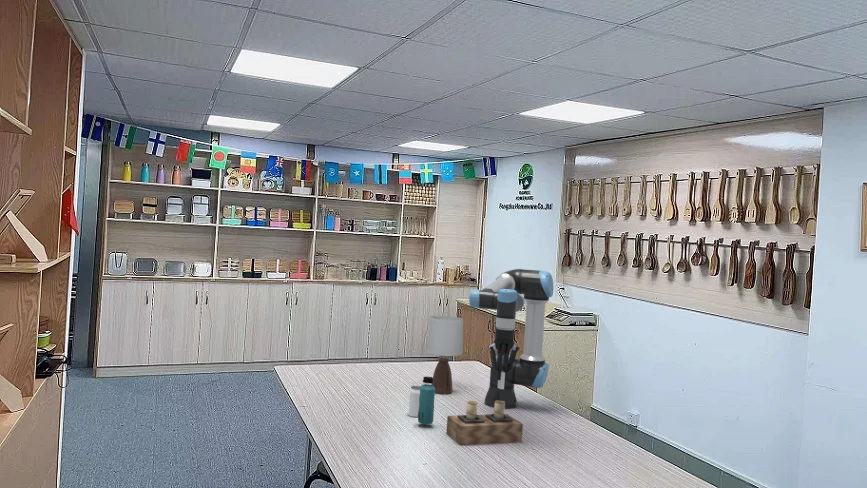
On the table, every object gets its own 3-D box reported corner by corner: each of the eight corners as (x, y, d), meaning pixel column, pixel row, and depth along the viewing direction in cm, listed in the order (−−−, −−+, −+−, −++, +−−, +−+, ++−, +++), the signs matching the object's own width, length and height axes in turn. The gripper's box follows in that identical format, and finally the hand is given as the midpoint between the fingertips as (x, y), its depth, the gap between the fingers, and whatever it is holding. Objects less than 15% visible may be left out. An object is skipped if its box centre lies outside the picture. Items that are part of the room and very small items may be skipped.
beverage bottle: (435, 425, 269) (438, 376, 269) (429, 429, 263) (433, 379, 262) (420, 422, 271) (423, 374, 271) (414, 426, 265) (418, 377, 265)
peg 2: (500, 419, 261) (502, 400, 261) (505, 422, 257) (506, 402, 257) (491, 420, 260) (493, 400, 259) (496, 423, 256) (497, 403, 256)
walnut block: (505, 430, 267) (506, 411, 267) (521, 441, 254) (523, 421, 254) (446, 433, 258) (447, 413, 258) (460, 445, 245) (461, 423, 245)
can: (421, 418, 278) (423, 390, 277) (406, 416, 279) (408, 388, 279) (424, 414, 284) (426, 386, 284) (410, 412, 285) (411, 385, 285)
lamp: (467, 394, 325) (472, 320, 324) (436, 397, 314) (441, 321, 314) (445, 386, 340) (450, 315, 340) (415, 388, 330) (420, 315, 329)
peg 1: (473, 420, 257) (474, 400, 257) (477, 423, 253) (479, 403, 253) (464, 421, 255) (465, 401, 255) (468, 424, 252) (469, 403, 252)
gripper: (515, 327, 264) (511, 386, 264) (486, 326, 259) (481, 386, 259) (524, 330, 257) (519, 390, 257) (494, 329, 252) (489, 390, 252)
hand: (500, 388), depth 258 cm, fingers closed
